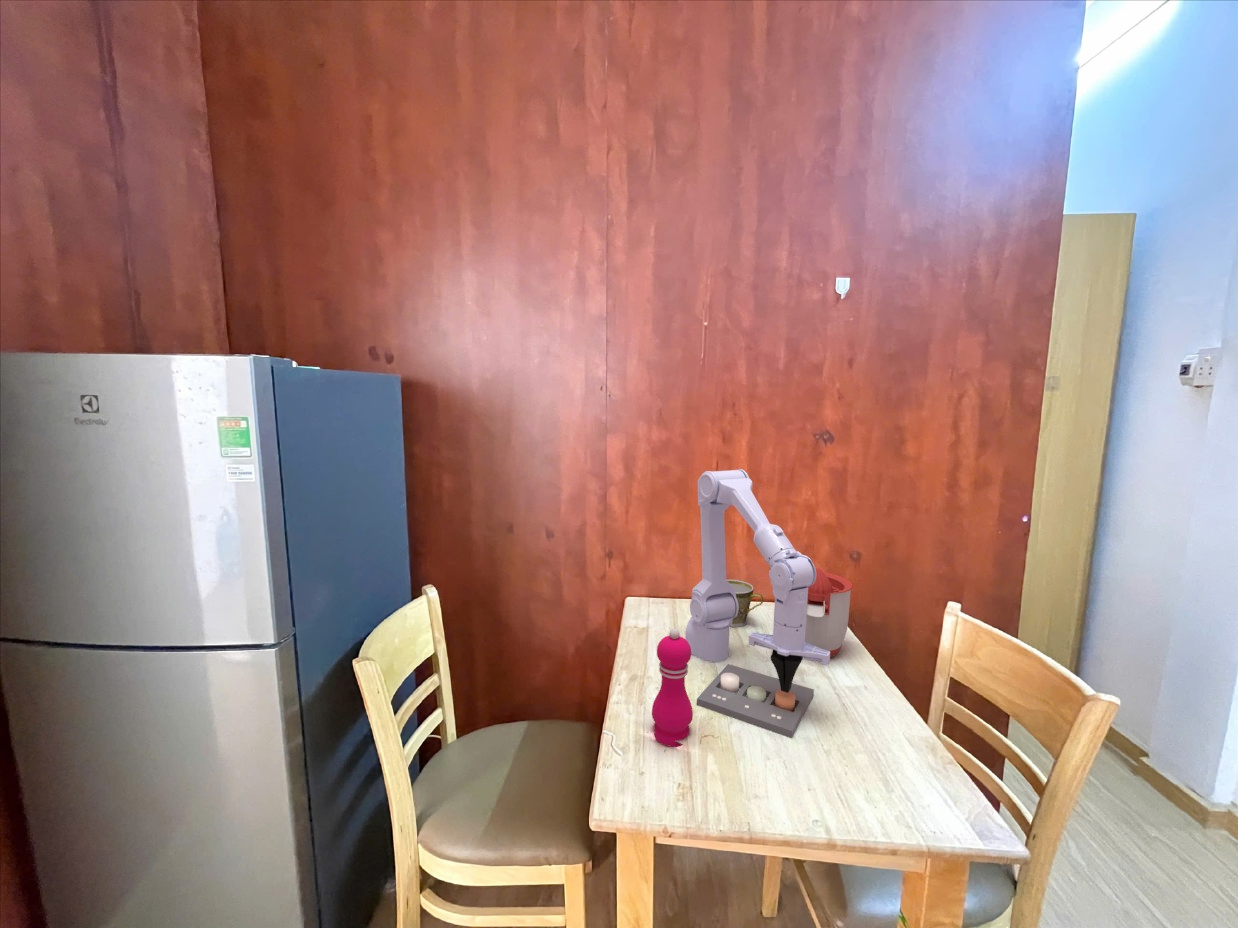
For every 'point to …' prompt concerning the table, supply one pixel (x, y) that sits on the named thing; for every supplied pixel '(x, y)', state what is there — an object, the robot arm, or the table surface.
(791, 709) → the button terracotta
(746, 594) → the ceramic cup
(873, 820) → the table surface
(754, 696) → the button green
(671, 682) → the pepper mill
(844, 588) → the citrus juicer
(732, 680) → the button white
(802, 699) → the button panel
